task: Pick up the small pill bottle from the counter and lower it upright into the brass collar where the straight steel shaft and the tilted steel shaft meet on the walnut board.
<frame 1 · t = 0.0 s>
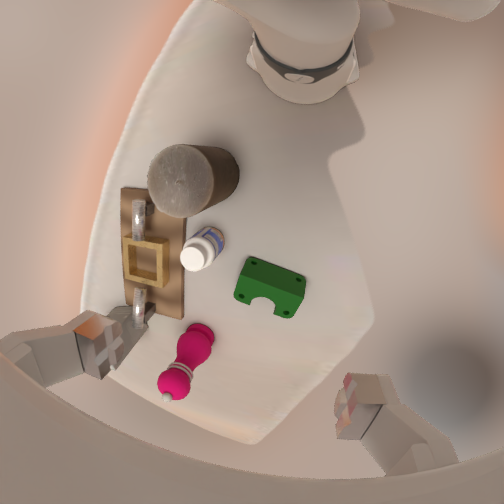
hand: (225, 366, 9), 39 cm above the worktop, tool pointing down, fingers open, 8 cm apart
pepper mill: (201, 334, 58), on the worktop
clamp: (271, 281, 51), on the worktop
shaft stand: (153, 254, 53), on the worktop
skincare box: (132, 317, 60), on the worktop
pill bottle: (211, 240, 50), on the worktop
pillar candle: (211, 174, 45), on the worktop
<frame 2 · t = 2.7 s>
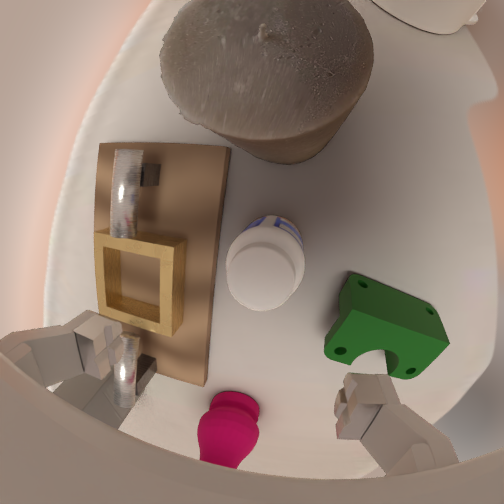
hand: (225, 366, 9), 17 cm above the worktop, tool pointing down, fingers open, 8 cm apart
pepper mill: (236, 406, 31), on the worktop
clamp: (377, 317, 25), on the worktop
shaft stand: (152, 270, 28), on the worktop
skincare box: (117, 372, 34), on the worktop
pill bottle: (273, 243, 25), on the worktop
pillar candle: (281, 112, 22), on the worktop
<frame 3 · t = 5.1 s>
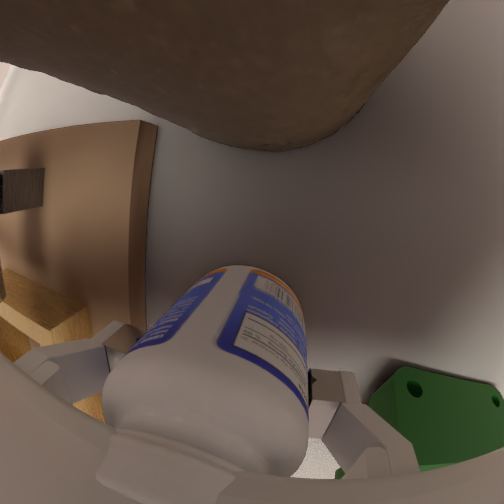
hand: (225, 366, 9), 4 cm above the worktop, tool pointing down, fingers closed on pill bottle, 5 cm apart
clamp: (420, 413, 12), on the worktop
shaft stand: (65, 335, 15), on the worktop
pill bottle: (245, 317, 12), on the worktop, touching gripper
pillar candle: (261, 49, 9), on the worktop
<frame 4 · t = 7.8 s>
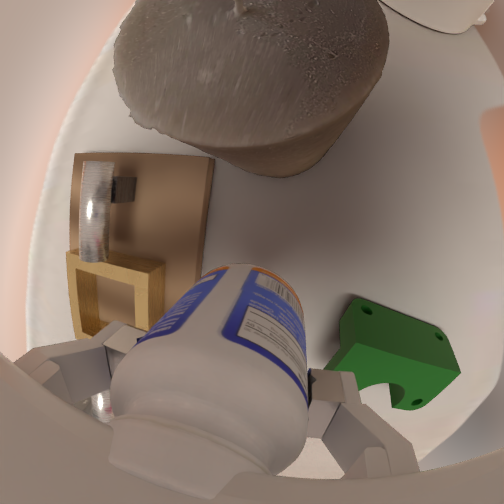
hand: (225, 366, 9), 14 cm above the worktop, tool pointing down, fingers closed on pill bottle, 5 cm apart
clamp: (381, 343, 22), on the worktop
shaft stand: (130, 293, 24), on the worktop
pill bottle: (246, 313, 13), point 9 cm above the worktop, touching gripper
pillar candle: (273, 117, 19), on the worktop
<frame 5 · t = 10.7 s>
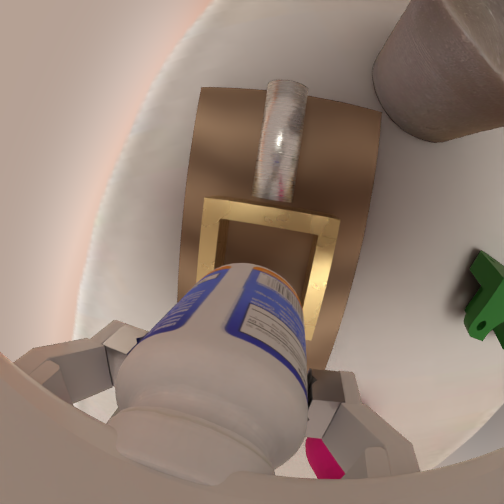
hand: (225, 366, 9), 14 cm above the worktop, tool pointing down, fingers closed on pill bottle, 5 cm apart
pepper mill: (337, 414, 26), on the worktop
clamp: (487, 295, 20), on the worktop
shaft stand: (267, 256, 22), on the worktop
pill bottle: (247, 312, 13), point 10 cm above the worktop, touching gripper
pillar candle: (418, 90, 17), on the worktop
when the fingers open (7 cm above the worktop, at t = 13.2 s): pill bottle stays where it is, resting on shaft stand.
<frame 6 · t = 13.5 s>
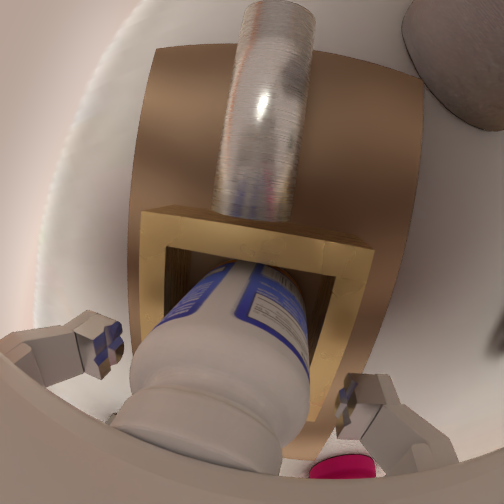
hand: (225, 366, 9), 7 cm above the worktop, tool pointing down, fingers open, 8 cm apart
pepper mill: (341, 468, 18), on the worktop
shaft stand: (253, 294, 15), on the worktop
pill bottle: (251, 304, 14), point 1 cm above the worktop, touching shaft stand
pillar candle: (461, 61, 10), on the worktop
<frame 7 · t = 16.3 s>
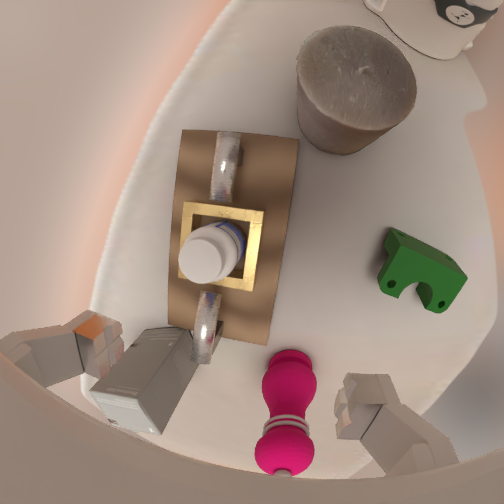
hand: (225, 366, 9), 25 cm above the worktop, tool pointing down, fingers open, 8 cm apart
pepper mill: (290, 365, 37), on the worktop
clamp: (410, 266, 31), on the worktop
shaft stand: (227, 239, 34), on the worktop
skincare box: (172, 346, 39), on the worktop
pill bottle: (225, 241, 33), point 1 cm above the worktop, touching shaft stand
pillar candle: (334, 117, 29), on the worktop
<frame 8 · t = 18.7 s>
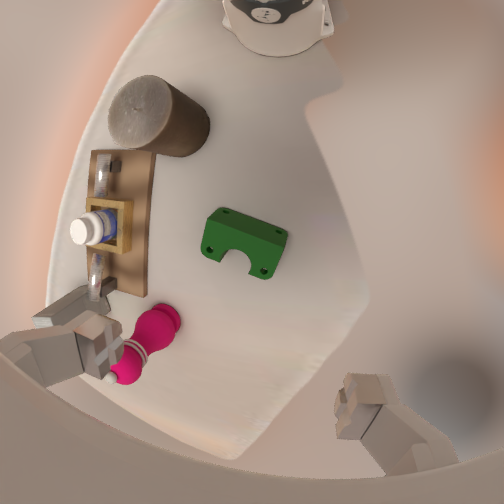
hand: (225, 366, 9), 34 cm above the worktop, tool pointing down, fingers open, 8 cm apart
pepper mill: (166, 317, 49), on the worktop
clamp: (247, 239, 43), on the worktop
shaft stand: (117, 221, 46), on the worktop
skincare box: (94, 299, 51), on the worktop
pill bottle: (114, 222, 44), point 1 cm above the worktop, touching shaft stand
pillar candle: (181, 128, 40), on the worktop
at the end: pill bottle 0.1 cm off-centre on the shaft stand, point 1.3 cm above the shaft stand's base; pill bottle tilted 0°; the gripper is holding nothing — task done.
